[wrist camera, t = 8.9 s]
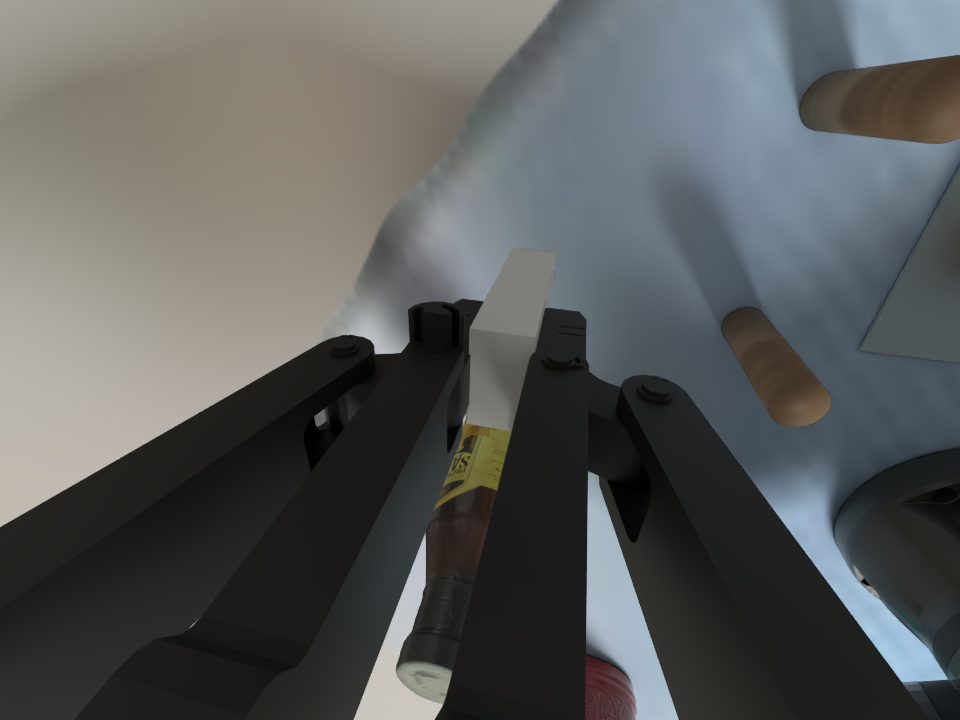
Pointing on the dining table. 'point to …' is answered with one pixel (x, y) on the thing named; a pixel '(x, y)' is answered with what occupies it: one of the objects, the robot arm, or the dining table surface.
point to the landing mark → (925, 292)
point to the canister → (607, 693)
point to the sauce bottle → (453, 560)
